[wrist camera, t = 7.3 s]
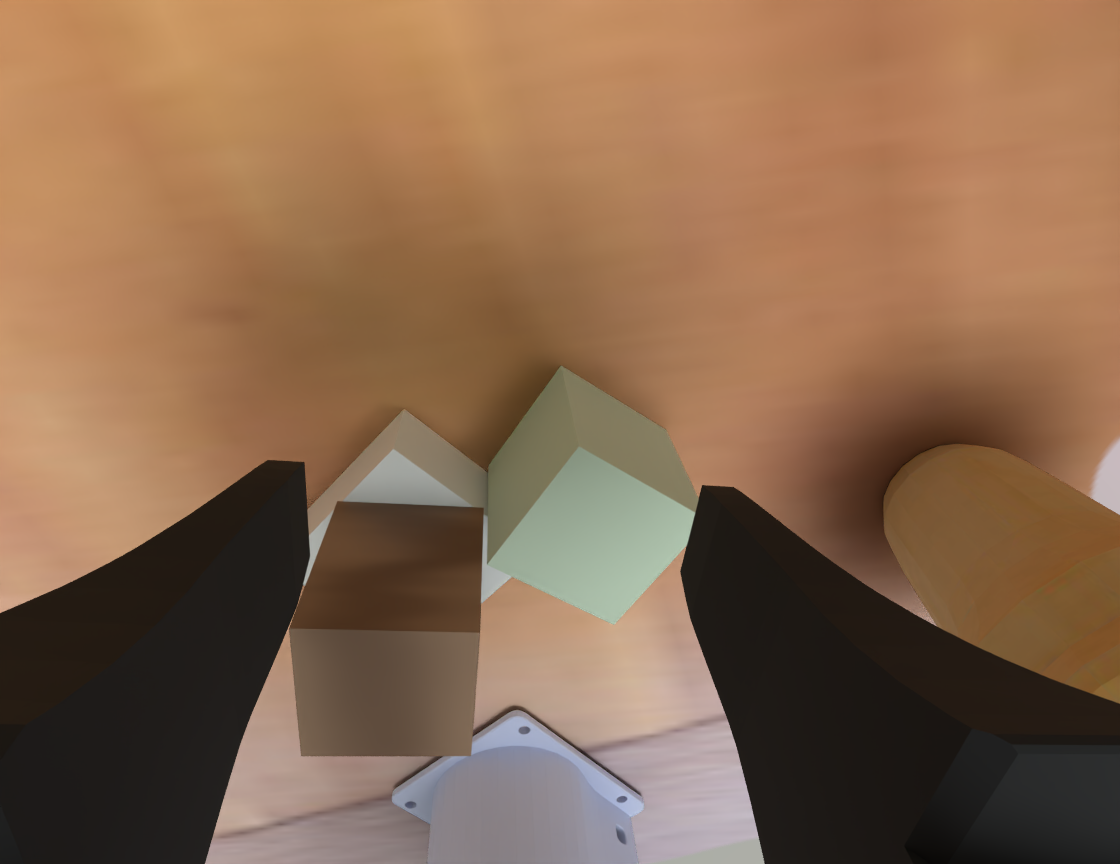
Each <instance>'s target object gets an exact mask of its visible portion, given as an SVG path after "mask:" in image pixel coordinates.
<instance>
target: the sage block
mask: <svg viewBox="0 0 1120 864" xmlns="http://www.w3.org/2000/svg"><path fill="white" fill-rule="evenodd" d="M698 500H699V498H698V496H697V494H696V492H695V490H694V487H693V485H692V483H691V481H690V479H689V477H688V475H687V473H686V471H685V468H684V466H683V464H682V462H681V460H680V458H679V456H678V454H677V452H676V449H675V447H674V445H673V443H672V441H671V439H670V437H669V435H668V433H667V430H666V429H664V428H662V427H661V426H659V425H658V424H656V423H654V422H653V421H651V420H649V419H648V418H646V417H644V416H643V415H641V414H640V413H638V412H636V411H635V410H633V409H631V408H630V407H628V406H627V405H625V404H623V403H622V402H620V401H618V400H617V399H615V398H613V397H612V396H610V395H609V394H607V393H605V392H604V391H602V390H600V389H599V388H597V387H595V386H594V385H592V384H591V383H589V382H587V381H586V380H584V379H582V378H581V377H579V376H578V375H576V374H574V373H573V372H571V371H569V370H568V369H566V368H564V367H563V366H560V368H559V369H558V370H557V372H556V373H555V374H554V376H553V377H552V379H551V380H550V381H549V383H548V384H547V385H546V387H545V388H544V390H543V391H542V392H541V394H540V395H539V397H538V398H537V399H536V401H535V402H534V403H533V405H532V406H531V408H530V409H529V410H528V412H527V413H526V414H525V416H524V417H523V419H522V420H521V421H520V423H519V424H518V425H517V427H516V428H515V430H514V431H513V432H512V434H511V435H510V436H509V438H508V439H507V441H506V442H505V443H504V445H503V446H502V447H501V449H500V450H499V452H498V453H497V454H496V456H495V457H494V459H493V460H492V461H491V463H490V464H489V467H488V531H487V565H488V566H490V567H493V568H495V569H497V570H499V571H501V572H503V573H505V574H507V575H510V576H512V577H514V578H516V579H518V580H520V581H522V582H524V583H526V584H529V585H531V586H533V587H535V588H537V589H539V590H541V591H543V592H545V593H548V594H550V595H552V596H554V597H556V598H558V599H560V600H562V601H564V602H567V603H569V604H571V605H573V606H575V607H577V608H579V609H581V610H583V611H586V612H588V613H590V614H592V615H594V616H596V617H598V618H600V619H602V620H605V621H607V622H609V623H611V624H613V625H614V624H615V623H616V622H617V621H618V620H619V619H620V618H621V617H622V615H623V614H624V613H625V612H626V611H627V610H628V609H629V608H630V607H631V606H632V604H633V603H634V602H635V601H636V600H637V599H638V598H639V597H640V596H641V595H642V594H643V592H644V591H645V590H646V589H647V588H648V587H649V586H650V585H651V584H652V583H653V582H654V580H655V579H656V578H657V577H658V576H659V575H660V574H661V573H662V572H663V571H664V569H665V568H666V567H667V566H668V565H669V564H670V563H671V562H672V561H673V560H674V559H675V557H676V556H677V555H678V554H679V553H680V552H681V551H682V550H683V549H684V548H685V546H686V545H687V543H688V539H689V535H690V532H691V528H692V524H693V520H694V516H695V512H696V508H697V504H698Z"/></svg>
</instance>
